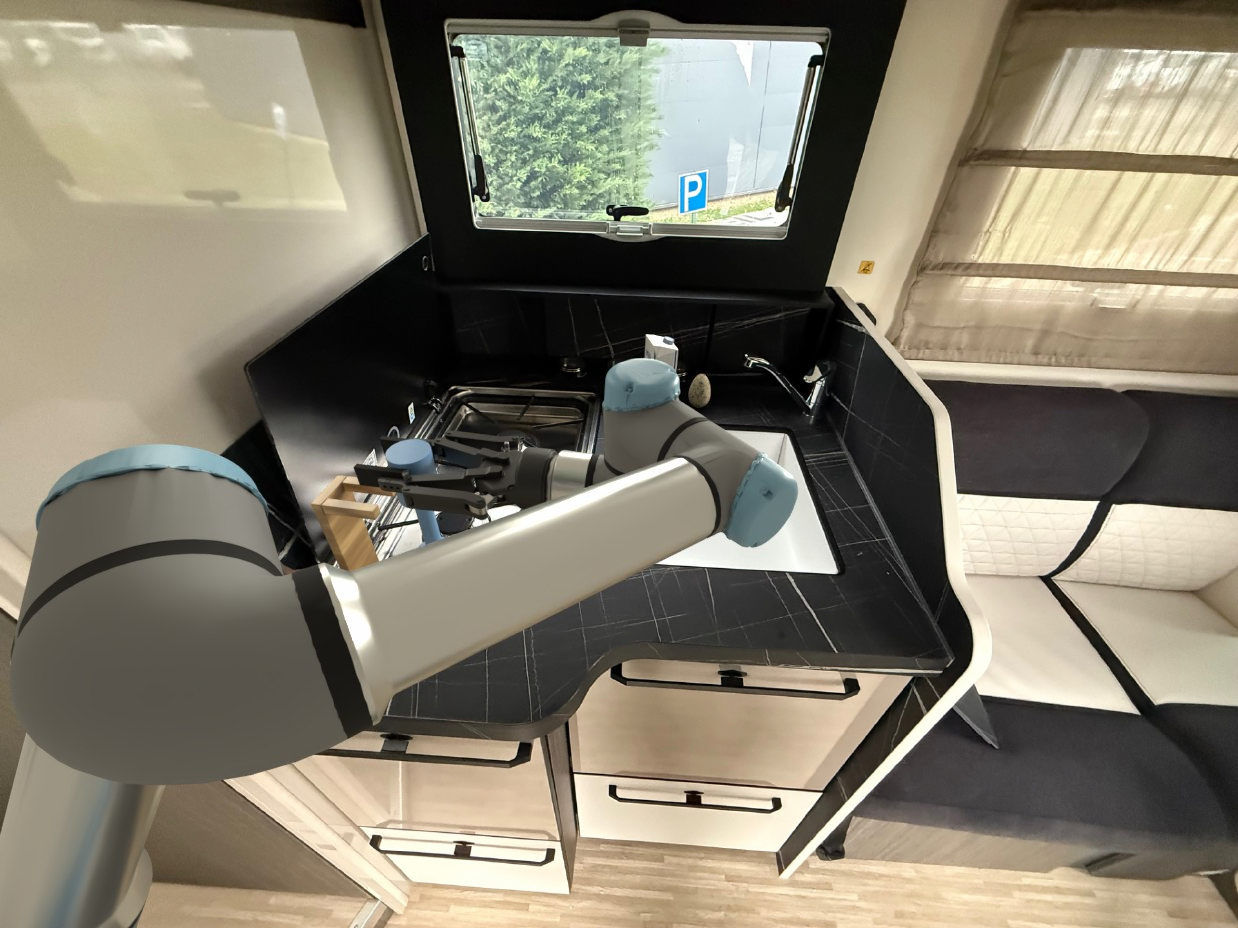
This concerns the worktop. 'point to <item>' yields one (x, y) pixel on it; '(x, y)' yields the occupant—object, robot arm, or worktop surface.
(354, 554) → the stand
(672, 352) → the milk carton
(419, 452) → the peg
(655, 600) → the worktop surface
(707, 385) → the decorative egg
